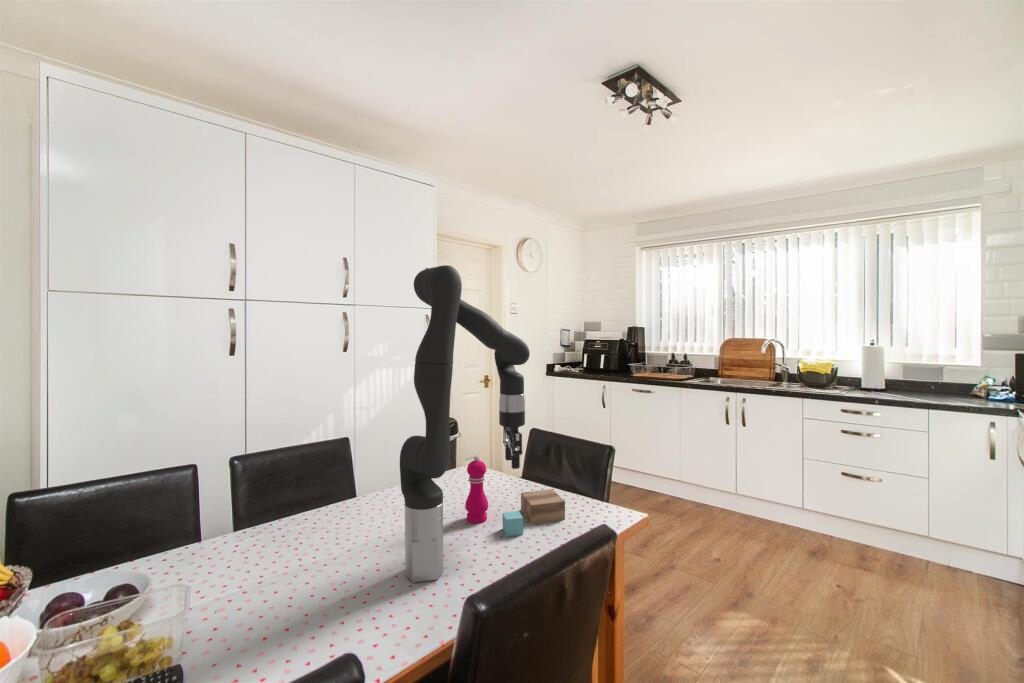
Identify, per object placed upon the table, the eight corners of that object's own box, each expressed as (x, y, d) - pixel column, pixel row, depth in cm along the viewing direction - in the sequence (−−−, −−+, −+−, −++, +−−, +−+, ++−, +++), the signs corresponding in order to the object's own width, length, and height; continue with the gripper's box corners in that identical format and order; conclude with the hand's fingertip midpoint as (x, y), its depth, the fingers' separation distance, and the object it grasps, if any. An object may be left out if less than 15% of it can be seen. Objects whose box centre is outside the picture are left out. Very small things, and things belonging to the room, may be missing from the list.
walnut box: (565, 520, 144) (565, 501, 144) (531, 524, 141) (531, 505, 141) (552, 507, 155) (552, 489, 154) (520, 510, 152) (520, 492, 151)
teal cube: (523, 534, 134) (523, 517, 133) (506, 536, 133) (506, 519, 132) (519, 527, 138) (519, 511, 138) (502, 529, 137) (502, 512, 137)
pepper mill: (490, 515, 148) (489, 453, 147) (486, 524, 140) (486, 459, 140) (467, 514, 148) (467, 452, 148) (463, 523, 141) (462, 458, 140)
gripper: (530, 412, 128) (531, 470, 129) (518, 404, 142) (518, 456, 143) (504, 414, 127) (504, 472, 127) (494, 405, 141) (495, 458, 141)
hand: (512, 464), depth 135 cm, fingers open, 8 cm apart
